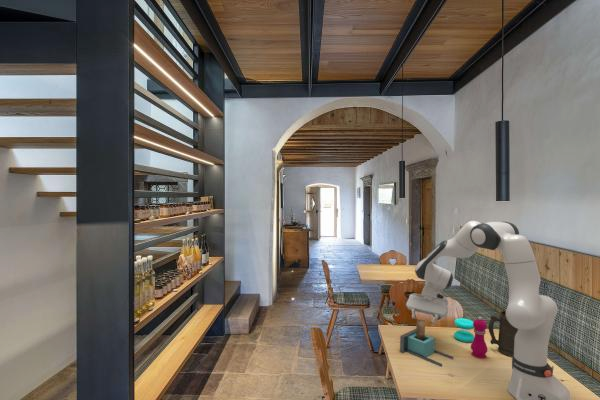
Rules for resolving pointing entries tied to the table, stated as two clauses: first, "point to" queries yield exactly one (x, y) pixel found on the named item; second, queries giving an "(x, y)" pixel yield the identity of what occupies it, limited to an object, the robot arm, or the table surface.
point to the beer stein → (503, 334)
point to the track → (405, 349)
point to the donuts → (464, 335)
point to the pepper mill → (479, 339)
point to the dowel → (420, 330)
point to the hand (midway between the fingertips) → (422, 320)
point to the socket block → (421, 345)
